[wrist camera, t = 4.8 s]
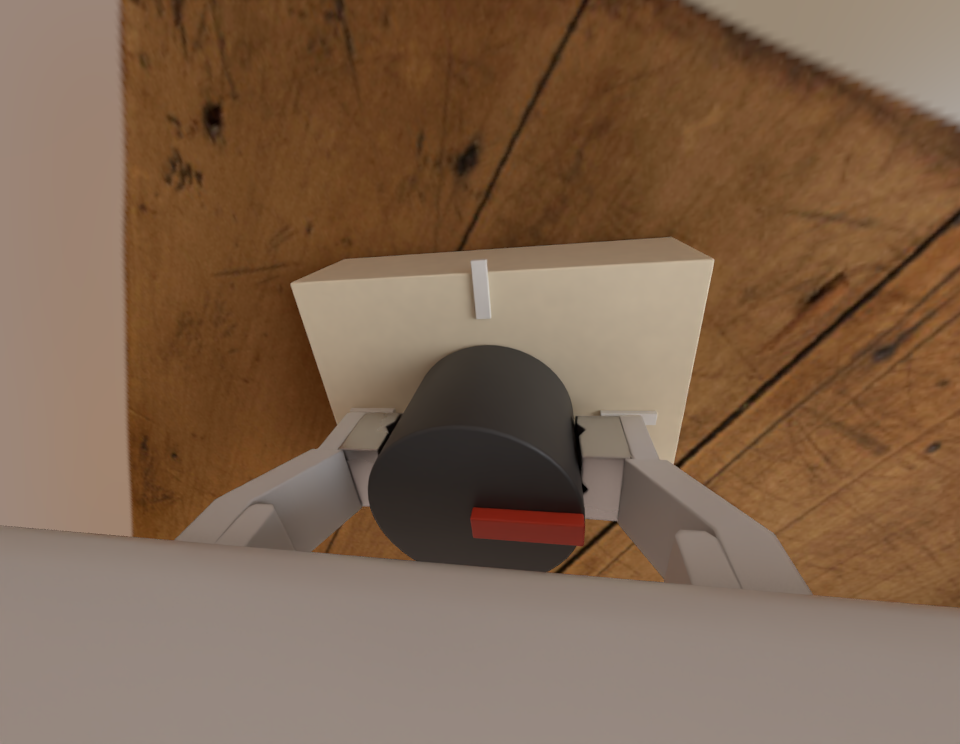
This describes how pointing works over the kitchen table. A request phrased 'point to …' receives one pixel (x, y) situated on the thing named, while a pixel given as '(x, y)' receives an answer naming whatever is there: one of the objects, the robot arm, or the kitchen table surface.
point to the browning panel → (517, 323)
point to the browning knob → (483, 466)
